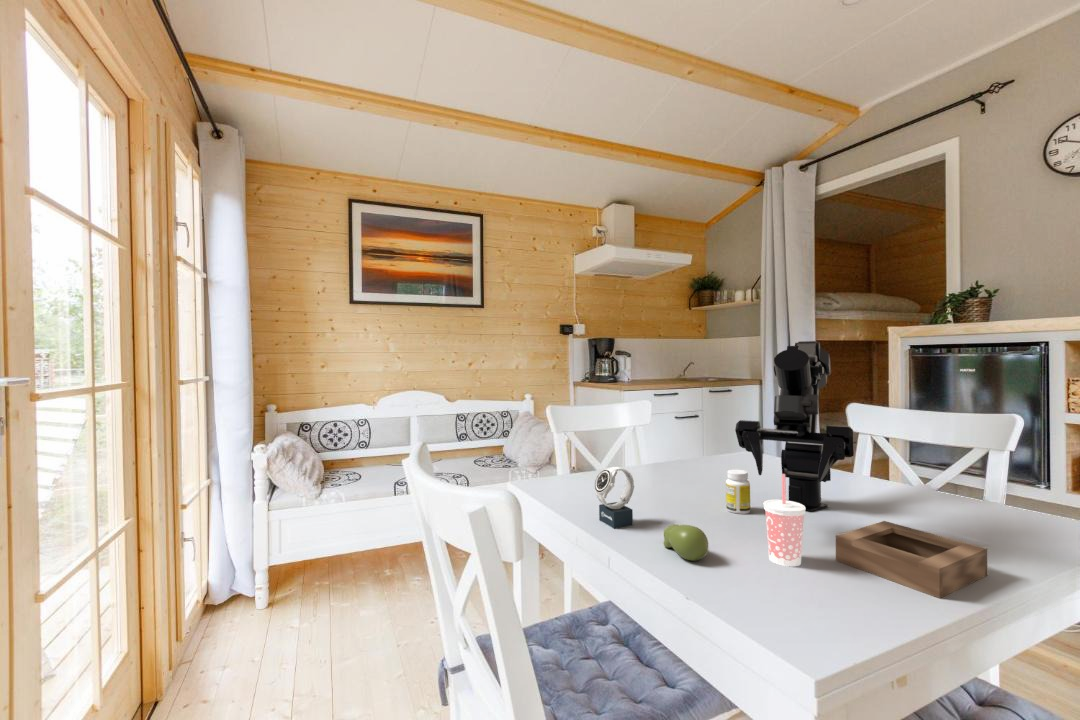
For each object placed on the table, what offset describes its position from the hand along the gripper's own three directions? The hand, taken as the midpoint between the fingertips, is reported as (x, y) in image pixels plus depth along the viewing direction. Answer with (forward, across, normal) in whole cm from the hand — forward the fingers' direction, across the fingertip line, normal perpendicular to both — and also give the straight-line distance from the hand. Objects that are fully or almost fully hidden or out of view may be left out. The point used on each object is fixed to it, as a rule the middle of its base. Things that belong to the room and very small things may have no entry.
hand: (788, 477), depth 83 cm
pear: (+17, -15, +1) cm, 22 cm away
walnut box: (+8, +16, +9) cm, 20 cm away
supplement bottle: (-3, -12, +20) cm, 24 cm away
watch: (+12, -31, +6) cm, 33 cm away
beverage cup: (+13, 0, +4) cm, 14 cm away
